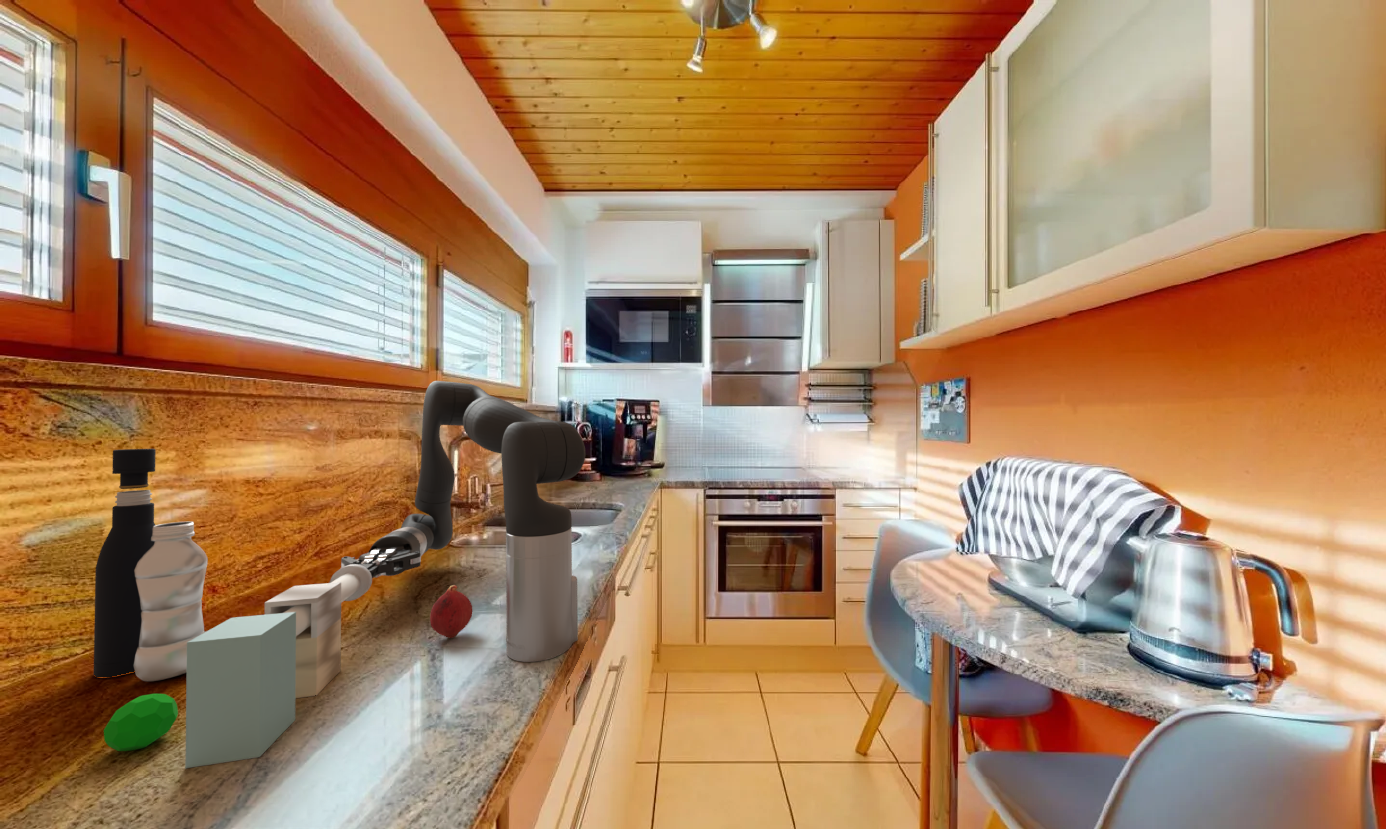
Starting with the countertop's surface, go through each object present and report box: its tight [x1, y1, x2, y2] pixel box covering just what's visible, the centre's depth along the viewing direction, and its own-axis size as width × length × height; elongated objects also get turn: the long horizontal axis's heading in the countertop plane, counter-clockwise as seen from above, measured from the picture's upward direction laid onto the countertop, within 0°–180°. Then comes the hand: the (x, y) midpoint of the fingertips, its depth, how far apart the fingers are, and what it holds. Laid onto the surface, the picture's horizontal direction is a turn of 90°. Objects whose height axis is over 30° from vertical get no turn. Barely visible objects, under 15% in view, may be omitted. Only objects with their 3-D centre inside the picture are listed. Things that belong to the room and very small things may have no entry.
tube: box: [284, 564, 373, 636], centre depth 63 cm, size 18×5×5 cm, turn 14°
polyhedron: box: [103, 693, 179, 752], centre depth 48 cm, size 5×5×5 cm
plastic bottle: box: [133, 521, 209, 682], centre depth 62 cm, size 6×7×20 cm
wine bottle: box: [93, 448, 157, 677], centre depth 65 cm, size 6×6×30 cm
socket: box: [184, 612, 296, 769], centre depth 49 cm, size 6×6×12 cm
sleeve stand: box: [264, 582, 342, 699], centre depth 59 cm, size 6×5×12 cm
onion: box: [429, 584, 474, 639], centre depth 72 cm, size 6×6×8 cm
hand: (359, 577), depth 74 cm, fingers closed
